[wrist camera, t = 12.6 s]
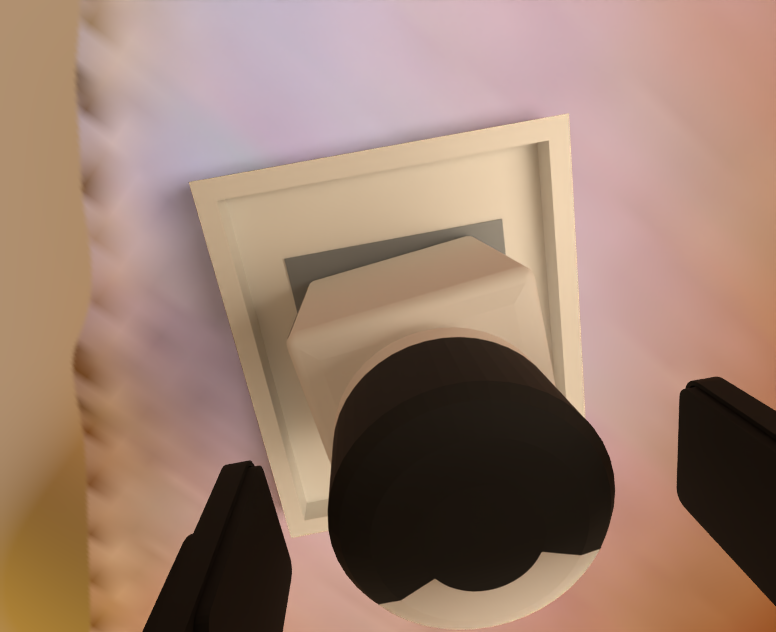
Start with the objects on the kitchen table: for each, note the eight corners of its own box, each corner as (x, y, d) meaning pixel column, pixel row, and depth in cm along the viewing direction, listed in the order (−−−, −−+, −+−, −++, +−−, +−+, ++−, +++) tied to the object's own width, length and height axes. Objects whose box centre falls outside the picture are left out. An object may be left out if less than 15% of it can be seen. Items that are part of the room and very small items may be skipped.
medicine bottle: (306, 281, 20) (238, 435, 8) (473, 232, 20) (641, 319, 8) (356, 428, 22) (358, 713, 10) (507, 384, 22) (679, 624, 10)
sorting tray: (206, 180, 19) (188, 182, 17) (545, 119, 20) (569, 113, 17) (296, 505, 24) (291, 538, 22) (568, 454, 24) (588, 481, 22)
